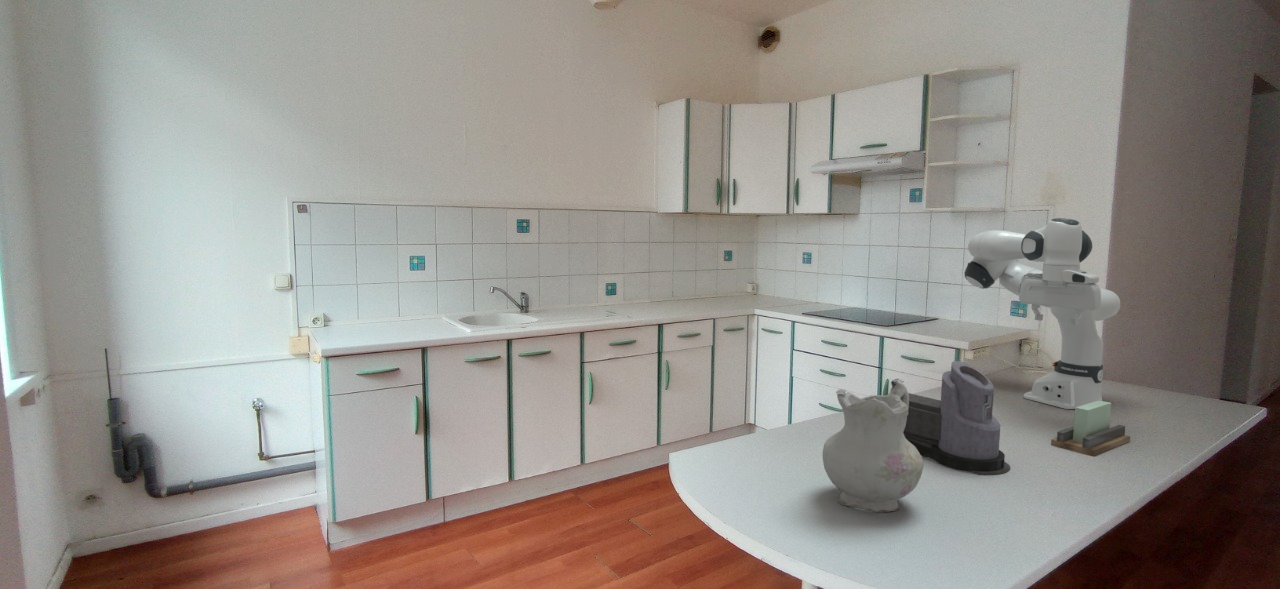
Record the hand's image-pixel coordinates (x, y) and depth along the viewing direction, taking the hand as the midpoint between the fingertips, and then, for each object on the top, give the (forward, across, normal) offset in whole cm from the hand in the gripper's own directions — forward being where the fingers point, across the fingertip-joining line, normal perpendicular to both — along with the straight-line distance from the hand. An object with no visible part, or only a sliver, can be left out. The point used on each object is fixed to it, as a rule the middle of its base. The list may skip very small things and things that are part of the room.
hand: (1056, 322), depth 182 cm
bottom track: (+30, +14, -8) cm, 35 cm away
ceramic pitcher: (+30, +5, -90) cm, 95 cm away
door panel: (+29, +14, -8) cm, 33 cm away
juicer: (+31, -2, -50) cm, 59 cm away
